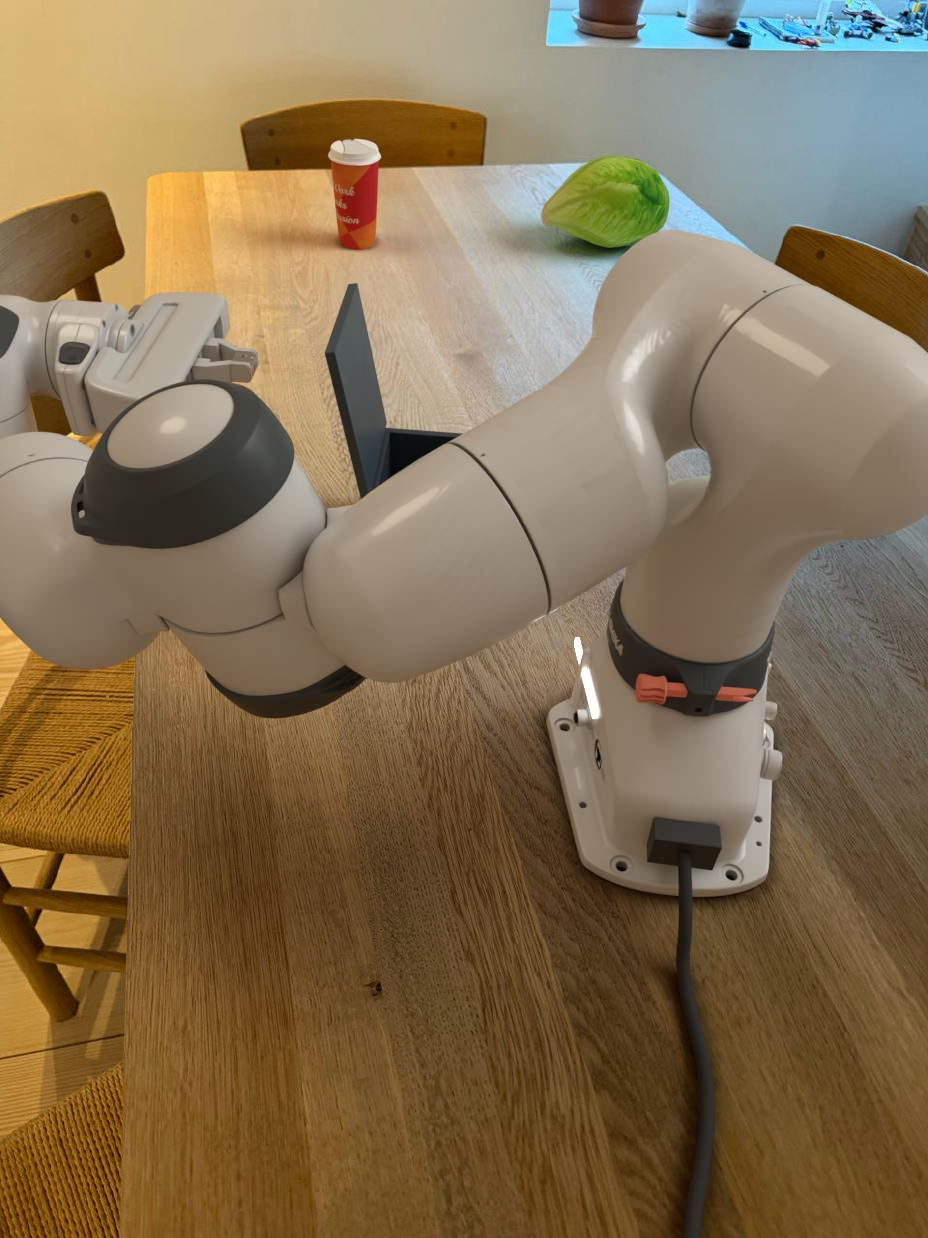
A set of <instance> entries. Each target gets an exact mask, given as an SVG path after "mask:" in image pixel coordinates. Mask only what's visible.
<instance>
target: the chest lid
mask: <svg viewBox="0 0 928 1238" xmlns="http://www.w3.org/2000/svg"><path fill="white" fill-rule="evenodd" d="M324 356H325V359H326V365H327V369H328V373H329V377H330V380H331V384H332V389H333V392H334V397H335V401H336V405H337V408H338V413H339V417H340V421H341V425H342V429H343V433H344V438H345V442H346V446H347V450H348V453H349V457H350V461H351V465H352V468H353V473H354V477H355V481H356V485H357V490H358V493H359V494H358V495H359V497H360V500H361V499H362V498H363V497H365V496H366V495H367V494H368V493H370V492H371V491H372V486H373V482H374V477H375V473H376V469H377V464H378V460H379V455H380V451H381V446H382V442H383V437H384V433H385V429H386V428H387V424H388V422H387V421H388V420H387V417H386V412H385V408H384V402H383V399H382V393H381V388H380V384H379V379H378V374H377V369H376V365H375V360H374V355H373V350H372V345H371V341H370V336H369V331H368V327H367V322H366V317H365V312H364V308H363V303H362V298H361V293H360V288H359V284H358V282H356V283H355V282H354V283H348V285H347V287H346V290H345V293H344V295H343V298H342V302H341V304H340V307H339V309H338V312H337V316H336V319H335V322H334V323H333V327H332V330H331V334H330V336H329V339H328V342H327V345H326V348H325V351H324Z"/></svg>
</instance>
